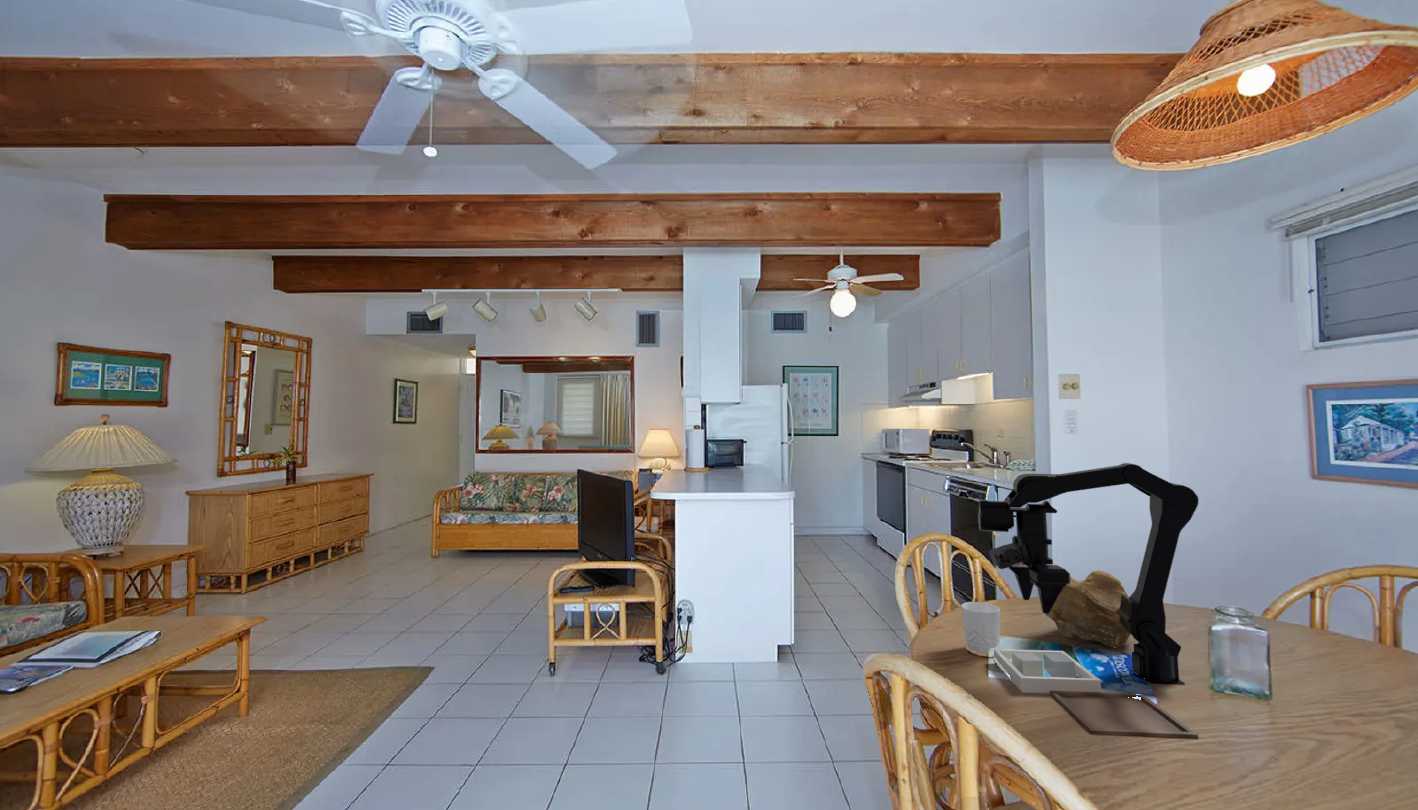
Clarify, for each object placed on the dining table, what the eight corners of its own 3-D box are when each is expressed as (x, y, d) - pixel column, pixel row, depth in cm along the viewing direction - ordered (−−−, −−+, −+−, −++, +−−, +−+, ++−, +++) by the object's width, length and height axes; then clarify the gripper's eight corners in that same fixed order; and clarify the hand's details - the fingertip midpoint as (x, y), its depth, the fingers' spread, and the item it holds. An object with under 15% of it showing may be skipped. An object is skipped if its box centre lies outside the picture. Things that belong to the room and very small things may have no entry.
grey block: (1065, 673, 113) (1064, 653, 113) (1075, 682, 109) (1074, 662, 109) (1044, 673, 114) (1043, 653, 114) (1053, 681, 110) (1052, 661, 110)
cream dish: (1063, 666, 118) (1063, 650, 118) (1101, 697, 104) (1100, 680, 104) (994, 664, 120) (993, 649, 120) (1022, 695, 106) (1021, 677, 106)
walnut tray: (1142, 699, 103) (1142, 693, 103) (1198, 741, 89) (1198, 734, 89) (1050, 696, 105) (1050, 690, 105) (1091, 736, 91) (1090, 730, 91)
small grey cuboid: (1032, 672, 114) (1031, 652, 114) (1043, 681, 110) (1042, 660, 110) (1012, 672, 114) (1011, 652, 114) (1023, 681, 110) (1022, 660, 110)
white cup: (998, 661, 121) (996, 614, 121) (960, 653, 126) (957, 608, 126) (1004, 649, 127) (1002, 605, 128) (967, 642, 132) (965, 599, 132)
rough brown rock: (1104, 664, 120) (1108, 595, 120) (1032, 632, 136) (1035, 572, 135) (1165, 648, 130) (1169, 584, 130) (1092, 620, 145) (1095, 563, 145)
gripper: (977, 525, 130) (980, 593, 129) (1010, 541, 111) (1014, 620, 111) (1027, 525, 129) (1031, 593, 128) (1069, 541, 110) (1073, 621, 109)
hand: (1035, 606), depth 119 cm, fingers open, 9 cm apart
